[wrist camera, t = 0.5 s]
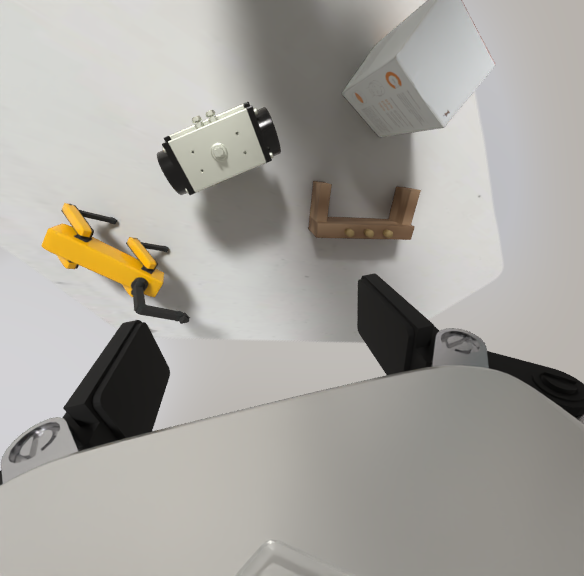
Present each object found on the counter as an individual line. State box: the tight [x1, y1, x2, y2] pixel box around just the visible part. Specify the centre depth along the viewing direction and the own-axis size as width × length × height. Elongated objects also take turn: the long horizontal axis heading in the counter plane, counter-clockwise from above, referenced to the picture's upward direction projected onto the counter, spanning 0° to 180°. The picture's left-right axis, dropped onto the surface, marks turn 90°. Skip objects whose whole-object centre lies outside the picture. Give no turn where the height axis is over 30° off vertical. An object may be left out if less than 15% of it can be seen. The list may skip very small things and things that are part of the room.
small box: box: [342, 0, 495, 137], centre depth 27 cm, size 8×6×13 cm
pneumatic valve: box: [157, 102, 281, 195], centre depth 27 cm, size 6×12×12 cm, turn 110°
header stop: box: [308, 181, 421, 240], centre depth 37 cm, size 7×15×6 cm, turn 86°
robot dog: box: [42, 203, 189, 324], centre depth 31 cm, size 6×18×13 cm, turn 53°
